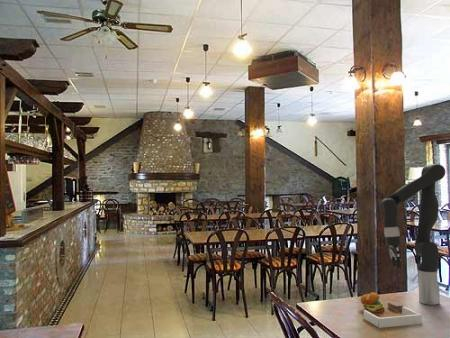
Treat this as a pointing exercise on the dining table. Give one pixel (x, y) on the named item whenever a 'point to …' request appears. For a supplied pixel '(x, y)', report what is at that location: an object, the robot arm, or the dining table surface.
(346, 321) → the dining table surface
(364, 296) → the cheeseburger
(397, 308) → the cardboard carton
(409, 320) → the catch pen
